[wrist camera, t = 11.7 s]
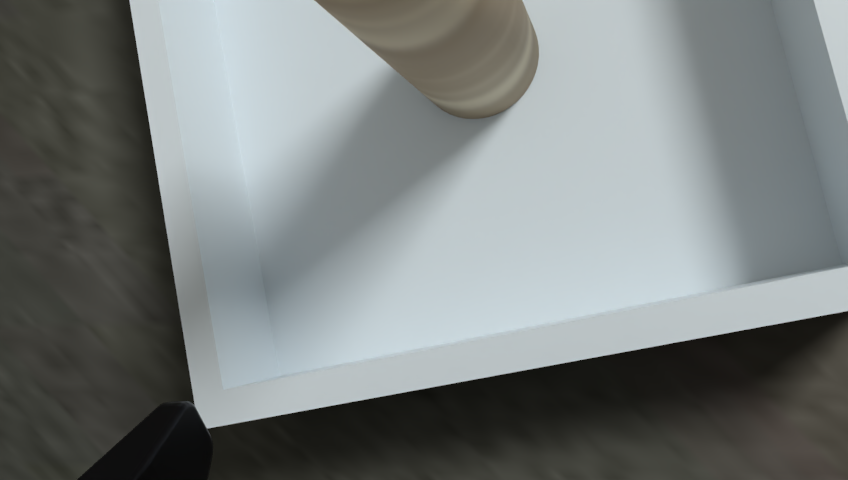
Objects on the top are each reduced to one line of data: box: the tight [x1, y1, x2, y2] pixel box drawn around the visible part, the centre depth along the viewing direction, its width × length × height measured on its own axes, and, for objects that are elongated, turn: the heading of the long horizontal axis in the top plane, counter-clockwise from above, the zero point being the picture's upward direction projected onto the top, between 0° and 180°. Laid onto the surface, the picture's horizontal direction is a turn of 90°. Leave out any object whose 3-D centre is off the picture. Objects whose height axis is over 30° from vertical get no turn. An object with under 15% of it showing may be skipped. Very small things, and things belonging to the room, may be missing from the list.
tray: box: [129, 0, 848, 428], centre depth 18 cm, size 16×16×4 cm
